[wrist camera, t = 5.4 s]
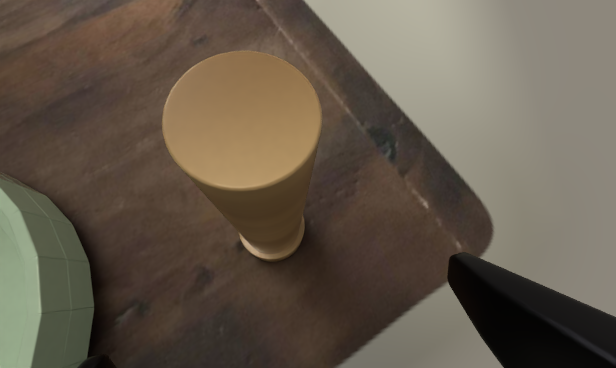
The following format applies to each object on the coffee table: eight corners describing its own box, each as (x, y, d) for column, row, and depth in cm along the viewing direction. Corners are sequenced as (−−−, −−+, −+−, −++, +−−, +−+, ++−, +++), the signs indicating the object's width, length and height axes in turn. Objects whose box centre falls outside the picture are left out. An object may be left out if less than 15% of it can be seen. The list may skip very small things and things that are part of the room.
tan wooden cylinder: (310, 250, 19) (364, 174, 6) (251, 270, 19) (163, 232, 5) (293, 194, 20) (304, 23, 7) (235, 211, 20) (130, 58, 6)
